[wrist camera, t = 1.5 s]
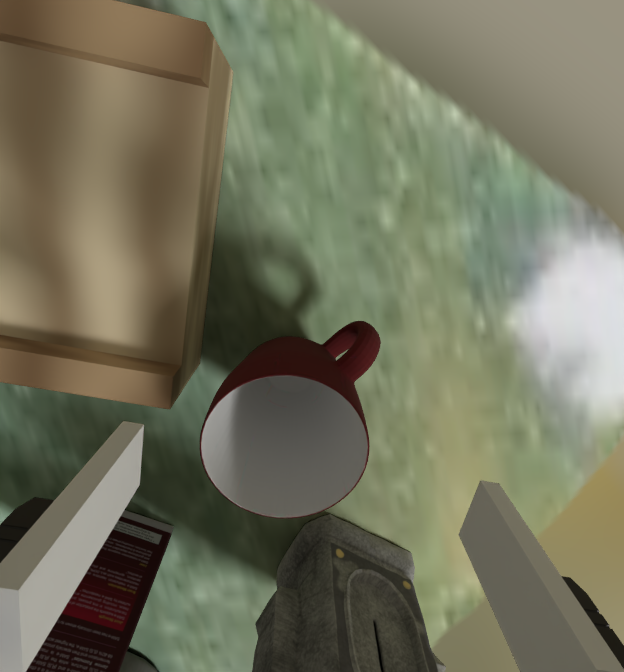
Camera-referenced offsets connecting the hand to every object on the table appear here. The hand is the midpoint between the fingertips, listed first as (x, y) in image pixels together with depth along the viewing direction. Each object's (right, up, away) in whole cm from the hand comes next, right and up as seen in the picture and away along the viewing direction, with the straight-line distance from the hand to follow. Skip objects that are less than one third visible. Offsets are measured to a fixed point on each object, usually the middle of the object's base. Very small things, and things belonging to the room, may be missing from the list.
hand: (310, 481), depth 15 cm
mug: (-1, +4, +13) cm, 13 cm away
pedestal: (-14, +13, +9) cm, 21 cm away
